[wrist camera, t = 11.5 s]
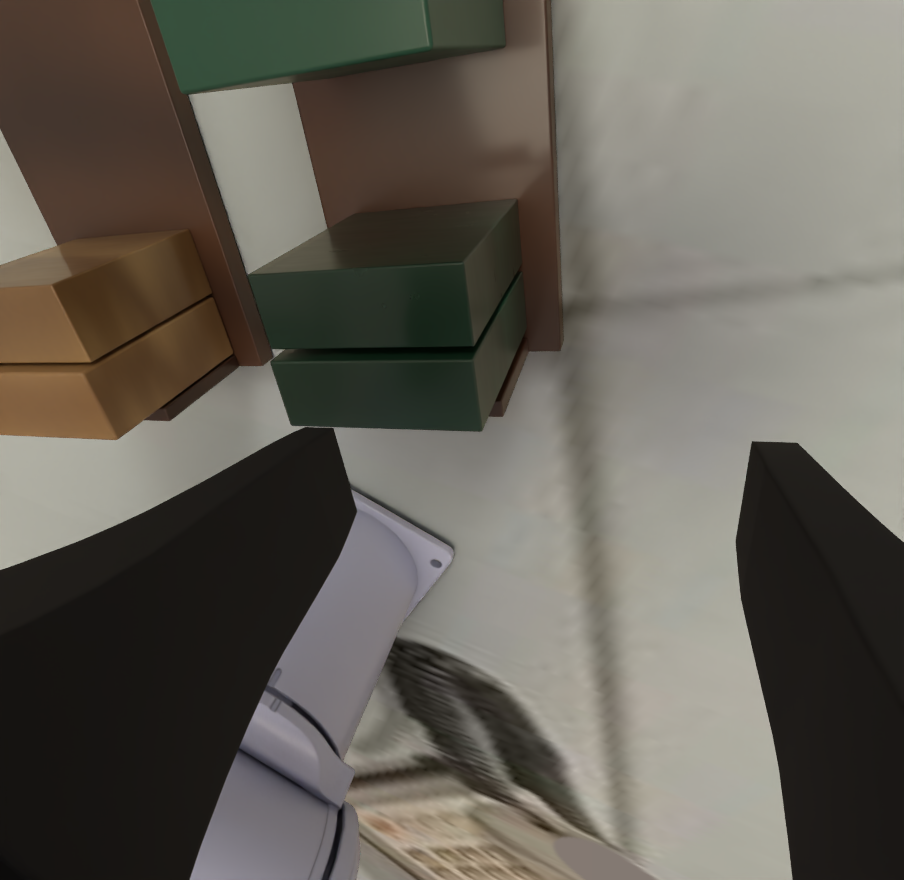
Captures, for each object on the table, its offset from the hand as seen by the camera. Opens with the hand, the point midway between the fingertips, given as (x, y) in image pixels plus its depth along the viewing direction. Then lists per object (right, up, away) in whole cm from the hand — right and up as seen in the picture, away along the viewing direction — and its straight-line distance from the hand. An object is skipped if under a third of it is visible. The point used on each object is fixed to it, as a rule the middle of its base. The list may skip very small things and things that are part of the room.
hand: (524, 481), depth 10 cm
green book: (-2, +11, +4) cm, 12 cm away
